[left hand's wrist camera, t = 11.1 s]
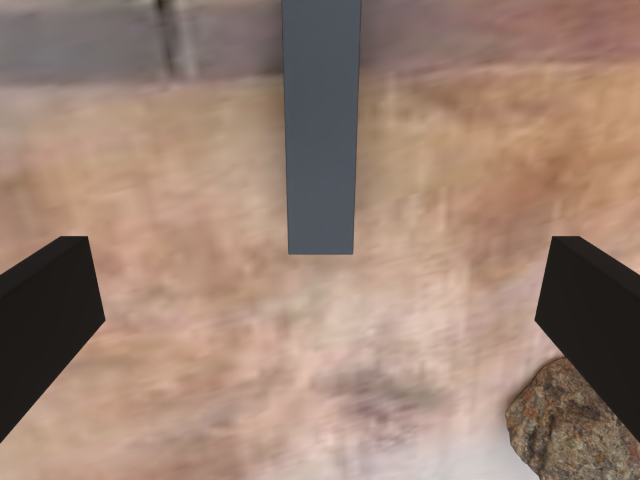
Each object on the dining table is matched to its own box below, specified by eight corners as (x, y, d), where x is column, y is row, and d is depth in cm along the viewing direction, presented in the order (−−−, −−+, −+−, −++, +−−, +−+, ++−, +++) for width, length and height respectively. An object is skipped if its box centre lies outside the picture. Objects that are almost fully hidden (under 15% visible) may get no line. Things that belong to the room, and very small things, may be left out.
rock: (616, 429, 47) (654, 353, 43) (684, 504, 39) (738, 419, 35) (490, 424, 45) (518, 345, 41) (534, 502, 37) (574, 412, 33)
